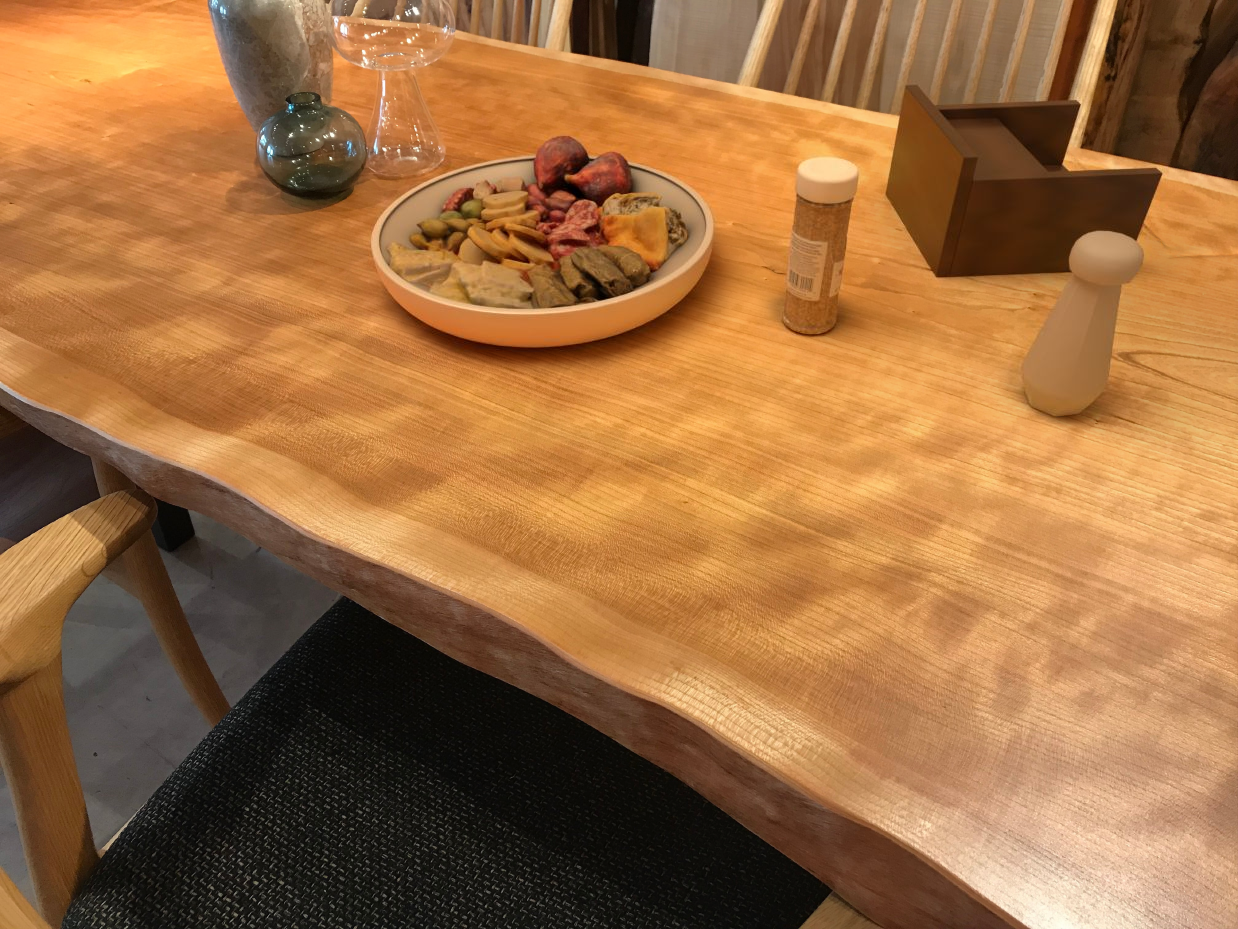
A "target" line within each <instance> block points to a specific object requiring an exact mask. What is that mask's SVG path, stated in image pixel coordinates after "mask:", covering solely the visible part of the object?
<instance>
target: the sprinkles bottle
mask: <svg viewBox="0 0 1238 929" xmlns="http://www.w3.org/2000/svg"><path fill="white" fill-rule="evenodd" d="M859 176H860V170H859V168H858V167H857V166H856V165H855V164H854V163H853V162H851V161H849V160H846V159H844V158H839V157H833V156H817V157H813V158H808V159H805V160H804V161H802V162H800V164H799V165H798V167H797V169H796V176H795V184H794V190H795V193H796V194H795V197H796V200H795V206H794V214H793V224H792V227H791V234H790V235H791V236H790V243H789V252H788V261H787V270H786V271H787V272H786V282H785V287H786V290H785V299H784V308H783V311H782V314H781V320H782V322H783V324H784V325H785V326H786V327H787V328H789V329H790V330H792V331H794V332H797V333H800V334H805V335H821V334H822V333H827V332H828V331H830V330H831V329H833V327H834V326H835V325H836V322H837V308H838V301H839V300H838V299H839V294H840V291H841V286H842V278H843V272H844V264H845V257H846V252H847V251H846V250H847V244H848V243H847V242H848V231H849V226H850V219H851V213H852V212H851V211H852V205H853V204H852V203H853V202H854V198H855V196H856V195H857V192H858V187H859V186H858V184H859Z"/></svg>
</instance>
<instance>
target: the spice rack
mask: <svg viewBox="0 0 1238 929" xmlns="http://www.w3.org/2000/svg"><path fill="white" fill-rule="evenodd" d="M1081 106H1082V103H1080V102H1079V101H1078V100H1077V99H1067V100H1066V99H1065V100H1040V101H1034V100H1033V101H1012V102H984V103H983V102H982V103H956V104H954V103H953V104H935V103H933V102H932V100H930V98H929V96H927V94H926V93H925V92H924V91H923V90H922V89H921V87H920V86H919V85H918V84H906V85H905V86H904V91H903V95H902V101H901V106H900V113H899V117H898V124H897V130H896V133H895V139H894V146H893V150H892V157H891V161H890V166H889V172H888V178H887V184H886V190H885V195H886V197H887V199H888V200H889V201H890V204H891V205H892V207H893V208H894V210H895V211H896V214H897V215H898V217H899V218H900V220H901V222H902V223H903V225H904V227H905V228H906V230H907V231H908V233H909V235H910V237H911V238H912V240H913V241H914V244H916V246H917V248H918V250H919V251H920V253H921V255H922V257H923V259H925V262H926V263H927V265H928V266H929V267H930V269H931V271H932V272H933V275H934V276H935V277H936V278H945V277H968V276H969V277H971V276H972V277H973V276H992V275H996V276H997V275H1019V274H1021V275H1023V274H1043V273H1044V274H1045V273H1047V274H1048V273H1066V272H1067V273H1069V272H1072V271H1071V270H1070V266H1069V256H1070V253H1071V249H1072V248H1073V246H1074V244H1075V242H1076V241H1077V240H1078V239H1079V238H1080V237H1082V236H1083V235H1085V234H1087V233H1090V232H1094V231H1111V232H1116V233H1121V234H1124V235H1126V236H1128V237H1131V238H1133V239H1134V240H1135V241H1136V242H1138V239H1139V236H1140V234H1141V231H1142V229H1143V226H1144V223H1145V220H1146V217H1147V215H1148V213H1149V210H1150V208H1151V205H1152V202H1153V199H1154V197H1155V194H1156V192H1157V190H1158V186H1159V184H1160V182H1161V179H1162V177H1163V172H1162V171H1161V170H1159V168H1157V167H1138V168H1136V167H1133V168H1112V169H1108V168H1107V169H1086V170H1085V169H1083V170H1068V168H1067V167H1066V166H1065V165H1064V161H1065V159H1066V158H1065V157H1066V155H1067V151H1068V148H1069V144H1070V142H1071V139H1072V135H1073V132H1074V128H1075V126H1076V123H1077V119H1078V116H1079V112H1080V109H1081ZM1072 273H1073V272H1072Z"/></svg>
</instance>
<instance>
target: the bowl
mask: <svg viewBox="0 0 1238 929" xmlns="http://www.w3.org/2000/svg"><path fill="white" fill-rule="evenodd" d="M714 239H715V220H714V215H713V213H712V210H711V207H709V204H708V203H707V201H705V199H704V198H703V197H702V196H701V195H700V193H698V192H697V191H696V190H695V189H694V188H693V187H691V186H689V185H688V184H687V183H685V182H683V181H682V180H680V179H679V178H677V177H675V176H673V175H670V174H669V173H668V172H667V173H666V172H664V171H661V170H658V169H656V168H654V167H651V166H648V165H644V164H640V163H637V162H632V161H629V160H627V159H626V158H625V157H624V155H622V153H619V152H616V151H607V152H605V153H601V154H600V155H598V156H597V155H589V154H588V152H587V150H586V148H585V147H584V145H583V144H582V143H581V142H580V141H578V140H577V139H575V138H574V137H573V136H571V135H558V136H555V137H552V138H550V139H548V140H546V141H545V142H544V143H542V145H541V146H540V147H539V148H538V150H537V152H536V154H533V155H531V154H530V155H522V156H521V155H520V156H512V157H505V158H500V159H494V160H489V161H483V162H479V163H475V164H471V165H467V166H464V167H460V168H457V169H454V170H451V171H448V172H446V173H443V174H440V175H438V176H436V177H433V178H431V179H429V180H426V181H424V182H422V183H420V184H418V185H417V186H415V187H412V188H411V189H409V190H408V191H407V192H405V193H403V194H402V195H401V196H399V197H398V198H397V199H396V200H394V201H393V202H392V203H391V204H390V205H388V207H387V208H386V209H385V210H384V211H383V212H382V214H380V216H379V218H378V219H377V221H376V223H375V224H374V226H373V230H372V233H371V238H370V249H371V253H372V259H373V263H374V266H375V268H376V272H377V274H378V276H379V279H380V280H381V282H382V285H384V287H385V289H386V290H387V291H388V293H389V294H390V295H391V297H392V298H393V299H394V300H395V302H397V304H399V306H400V307H402V308H403V309H404V310H405V311H407V312H408V313H409V314H411V315H412V317H415V318H416V319H418V320H419V321H421V322H423V323H424V324H426V325H428V326H430V327H432V328H434V329H436V330H439V331H440V332H443V333H446V334H449V335H452V336H454V337H458V338H461V339H464V340H468V341H472V342H477V343H481V344H487V345H493V346H499V347H500V346H503V347H511V348H512V347H513V348H551V347H553V348H555V347H564V346H572V345H579V344H584V343H590V342H594V341H599V340H603V339H606V338H610V337H613V336H617V335H620V334H624V333H627V332H628V331H629V332H630V331H631V330H634V329H636V328H638V327H640V326H643V325H645V324H647V323H650V322H651V321H653V320H655V319H657V318H658V317H660V316H662V315H663V314H665V313H667V312H668V311H669V310H670V309H671V308H673V307H675V306H676V305H677V304H679V303H680V302H681V301H682V300H683V299H684V298H685V297H686V296H687V295H688V294H689V293H690V292H691V291H692V290H693V289H694V287H695V286H696V285H697V283H698V282H699V281H700V279H701V277H702V276H703V274H704V272H705V270H706V268H707V266H708V265H709V262H710V259H711V256H712V253H713V247H714V241H715V240H714Z"/></svg>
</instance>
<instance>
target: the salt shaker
mask: <svg viewBox="0 0 1238 929" xmlns="http://www.w3.org/2000/svg"><path fill="white" fill-rule="evenodd" d="M1144 257H1145V254H1144V249H1143V247H1142V246H1141V244H1140V243H1139V242H1138V241H1135V240H1134V239H1133V238H1131V237H1128V236H1126V235H1124V234H1121V233H1116V232H1111V231H1094V232H1090V233H1087V234H1085V235H1083V236H1082V237H1080V238H1079V239H1078V240H1077V241H1076V242H1075V244H1074V246H1073V248H1072V249H1071V253H1070V256H1069V266H1070V270H1071V271H1072V273H1071V275H1070V277H1069V279H1068V281H1067V283H1066V284H1065V285H1064V288H1063V290H1062V292H1060V295H1059V297H1058V298H1057V300H1056V302H1055V303H1054V305H1053V307H1052V308H1051V310H1050V312H1049V314H1048V316H1047V318H1046V319H1045V321H1044V323H1043V325H1042V326H1041V328H1040V329H1039V332H1037V333H1038V334H1037V335H1036V338H1035V339H1034V340H1033V342H1032V344H1031V345H1030V347H1029V349H1028V352H1026V355H1025V357H1024V358H1023V359H1022V362H1021V367H1020V368H1021V370H1020V371H1021V374H1020V375H1021V380H1022V381H1021V382H1022V384H1023V391H1024V394H1025V397H1026V398H1027V401H1028V404H1029V406H1030V407H1031V408H1033V409H1035V410H1038V411H1040V412H1043V413H1045V414H1047V415H1049V416H1052V417H1054V418H1055V417H1065V416H1074V415H1079V414H1080V413H1082V412H1083V411H1084V410H1085V409H1086V408H1088V406H1090V405H1091V404H1092V403H1093V402H1095V400H1097V399H1098V398H1099V397H1100V395H1101V394H1102V393H1103V392H1104V390H1105V389H1106V387H1107V386H1108V382H1109V375H1110V369H1111V360H1112V354H1113V348H1114V342H1115V334H1116V327H1117V320H1118V313H1119V312H1118V311H1119V305H1120V301H1121V300H1120V298H1121V293H1122V287H1123V285H1126V284H1129V283H1130V282H1132V281H1133V280H1134V279H1135V278H1136V276H1137V275H1138V274H1139V272H1140V270H1141V269H1142V267H1143V264H1144V263H1143V262H1144V259H1145V258H1144Z"/></svg>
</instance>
